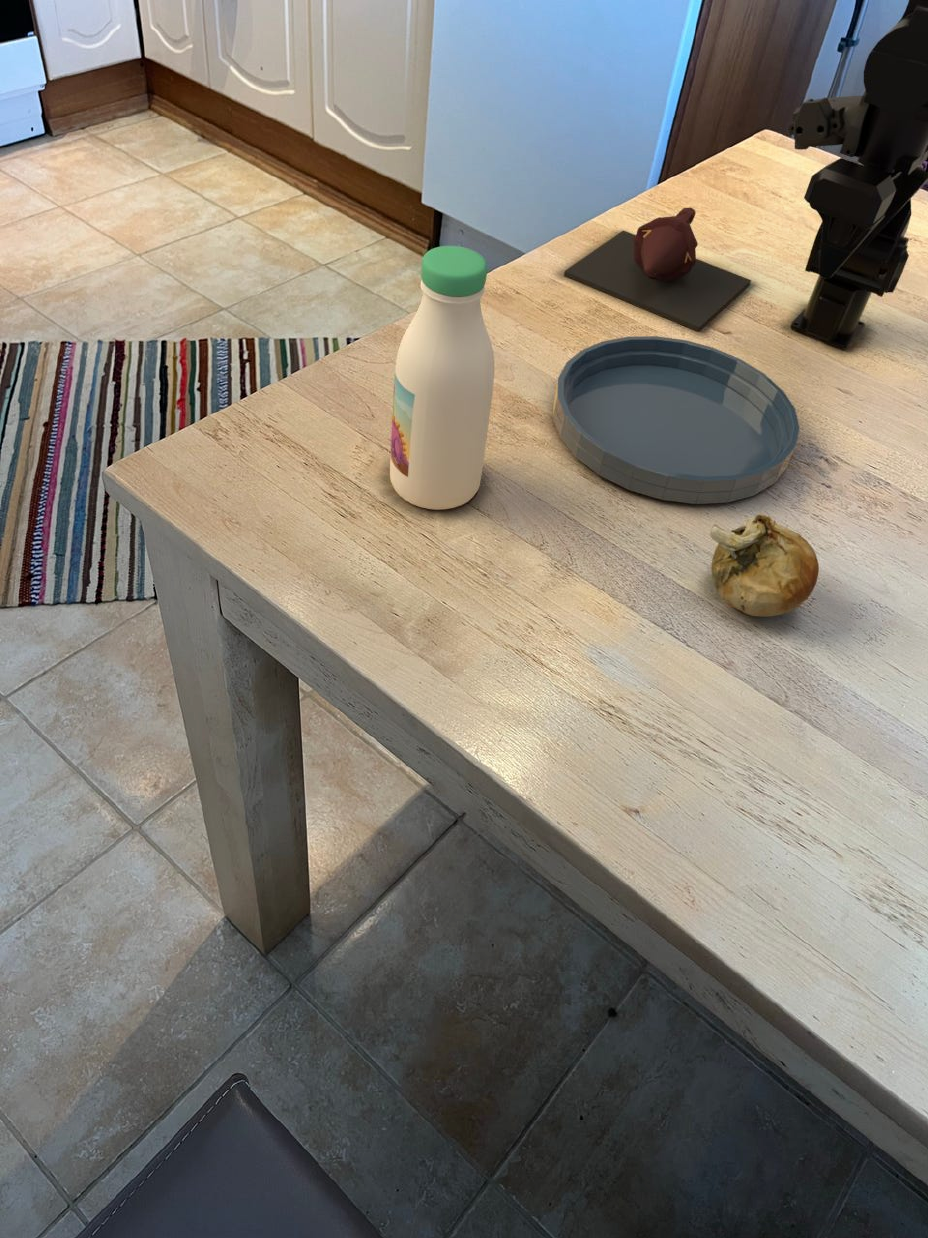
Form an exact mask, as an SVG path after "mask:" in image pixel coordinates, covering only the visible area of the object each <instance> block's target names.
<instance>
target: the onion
mask: <svg viewBox="0 0 928 1238" xmlns="http://www.w3.org/2000/svg"><path fill="white" fill-rule="evenodd" d="M745 522H746V525H741V526H739V527H737V528H735V529H731V530H727V529H725V528H722V527H720V526H719V525H718V524H716V523H714V524H713V525H712V527H711V530H710V533H709V536H710V538H711V540H712V541H715V543H717V546H716V547H715V550H714V553H713V555H712V558H711V577H712V580H713V583H714V586H715V589H716V590H717V593H718V594H719V596H720V598H722V599H723V601H724V602H725V603H727V604H728V606H730V607H732V608H734V609H736V610H738V611H741V612H742V613H744V614H746V615H748V616H751V617H775V616H781V615H785V614H787V613H790V612H792V611H794V610H796V609H797V608H798V607H800V606H801V605H802V604H803V603H804V602H805V601H807V600H808V598H809V597H810V596H811V595H812V593H813V591H814V590H815V588H816V584H817V581H818V577H819V571H820V566H819V565H820V564H819V560H818V557H817V554H816V552H815V550H814V548H813V547H812V545H811V544H810V543H809V541H808V540H807V539H805V538H804V537H803V536H802V535H801V534H800V533H798V532H796V531H794V530H792V529H789V528H787V527H786V526H785V527H784V526H782V525H780V524H779V523H777V522H776V520H775V519H773V518H772V517H771V516H770V515H765V514H761V513H759V514H756V515H755V516H754V518H753V520H751V519H748V518H746V519H745Z"/></svg>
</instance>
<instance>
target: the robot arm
mask: <svg viewBox="0 0 928 1238" xmlns="http://www.w3.org/2000/svg"><path fill="white" fill-rule="evenodd" d="M863 86H864V90H865V91H863V94H862V95H848V96H837V97H822V98H817V99H816V98H815V99H813V98H809V99H808V100H807V99H806V100H805V101H804V102H802V103H801V106H799V107H797V108H796V109H795V110H794V112H792V121H791V123H790V124H789V126H787V127H788V128H787V131H788V133H789V134H790V135H792V136H793V139H794V149H795V150H798V151H799V150H800V151H801V150H802V151H803V150H807V149H809V148H812V147H829V146H830V147H832V146H833V147H834V146H841V148H840V150H839V154H840V155H844V156H846V157H850V158H854V157H855V158H857V162H858V163H857V162H855V161H852V160H849V159H847V158H844V157H839V158H838V159H836V160H835V161H833V162H831V163H828V164H827V165H825V166H824V167H822V168H821V169H820V170H818V171H817V172H815V173H814V174H812V175H811V177H810V180H809V183H808V185H807V188H806V191H805V194H804V197H803V200H805V201H806V203H808V204H809V206H810V209H812V210H813V211H816V212H817V215H818V216H819V217H820V219H821V223H820V225H819V227H818V230H817V232H816V234H815V237H814V240H813V243H812V247H811V249H810V253H809V257H808V259H807V263H806V266H805V269H804V272H807V273H813V274H816V275H818V277H817V280H816V282H815V284H814V287H813V289H812V292H811V294H810V297H809V300H808V301H807V305H806V307H805V308H803V310H802V311H801V312H800V314H798V315H797V316H796V317H795V319H793V320H792V322H791V324H790V326H789V327H790V329H792V330H793V331H796V332H799V333H801V334H803V335H805V336H809V337H811V338H814V339H816V340H819V341H821V342H823V343H826V344H828V345H830V346H833V347H836V348H838V349H841V350H847V349H848V348H849V347H850V345H852V343H853V342H854V341H855V339H856V338H857V337H858V336H859V335H860V333H862V331H863V330H864V329H865V326H866V323H865V322H863V321H861V318H862V316H863V313H864V311H865V309H866V306H867V304H868V302H869V299H870V297H871V295H872V294H875V295H877V296H878V297H880V298H883V296H884V295H885V294H890V293H894V291H895V290H896V288H897V285H898V283H899V281H900V279H901V276H902V275H903V272H904V270H905V268H906V264H907V262H908V259H909V257H910V255H909V252H908V247H909V246H908V243H909V240H910V238H909V237H906V233H907V230H908V229H909V225H910V221H911V218H912V198H913V197H914V196H915V195H916V194H917V193H918V191H920V189H921V188H922V187H923V186H925V185H926V183H927V182H928V0H908V2H907V5H906V8H905V10H904V12H903V14H902V16H901V18H900V19H899V21H898V22H897V23H896V25H894V26H893V28H891V29H890V30H889V31H887V33H886V34H885V35H884V36H882V37H881V38H880V39H879V41H877V42H876V44H875V45H874V47H873V48H872V49H871V51H870V53H869V54H868V56H867V58H866V61H865V64H864V69H863ZM924 162H926V168H923V167H922V165H923V163H924Z"/></svg>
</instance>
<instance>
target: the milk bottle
mask: <svg viewBox="0 0 928 1238" xmlns="http://www.w3.org/2000/svg"><path fill="white" fill-rule="evenodd" d="M420 270H421V271H420V276H421V277H420V278H421V280H420V288H421V290H422V292H423V293H422V297H421V301H420V304H419V306H418V309H417V311H416V313H415V315H414V317H413V318H412V320H411V322H410V324H409V325H408V327H407V328H406V330H405V332H404V334H403V336H402V338H401V341H400V344H399V348H398V350H397V354H396V355H397V356H396V361H395V369H394V379H393V381H394V382H393V397H392V400H393V401H392V412H391V413H392V415H391V433H390V435H391V437H390V456H389V457H390V459H389V480H390V483H391V485H392V487H393V489H394V491H395V492H396V493H397V494H398V496H399V497H401V498H402V499H403V500H404V501H406V502H407V503H410V504H411V505H413V506H417V507H419V508H423V509H427V510H436V511H437V510H449V509H454V508H457V507H460V506H463V505H465V504H467V503H468V502H469V501H470V500H471V499H472V498H474V496H475V494H476V493H477V492H478V491H479V488H480V486H481V481H482V475H483V469H484V468H483V467H484V462H485V461H484V460H485V455H486V454H485V453H486V447H487V438H488V432H489V424H490V418H491V417H490V415H491V408H492V401H493V393H494V392H493V391H494V383H495V382H494V380H495V356H494V349H493V344H492V341H491V338H490V335H489V332H488V330H487V326H486V324H485V321H484V316H483V311H482V307H481V299H482V297H483V296H484V295H485V291H486V287H485V285H486V283H487V277H488V263H487V261H486V258H485V257H483V255H481V254H480V253H479V252H477V251H475V250H474V249H470V248H469V247H464V246H459V245H441V246H437V247H434V248H431V249H429V250H428V251H427V252H425V253H424V255H423V258H422V260H421V269H420Z"/></svg>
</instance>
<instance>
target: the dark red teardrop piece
mask: <svg viewBox="0 0 928 1238" xmlns="http://www.w3.org/2000/svg"><path fill="white" fill-rule="evenodd" d="M696 213H697V211H696V209H694V208H693V207H692V206H691V207H690V206H689V207H683V208H682V209H681V210H680V211H679V212H678V213H677V214H676V215H673V216H664V217H663V216H660V217H657V218H653V220H650V221H649V222H646V223H645V224H642V225H641V226H639V227H638V228H637V229H636V230H637V231H636V234H634V235H635V236H634V239H633V240H634V261H635V262H636V264H637V265H638V266H639V267H640V268H641V269H642V270H643V272H644V273H645V274H646V275H647V277H648V278H651V279H656V280H660V281H664V282H669V283H670V282H673V281H675V280H677V279H678V278H680V277H681V276H683V275H685V274H688V273H689V272H690V271H691V268H692V267H693V266H694V265H695V263H696V259H697V252H696V251H697V250H696V249H697V247H698V245H699V244H698V240H697V239H696V236H695V234H694V231H693V228H692V226H691V224H692V223H693V221H694V219H695V216H696Z"/></svg>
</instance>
